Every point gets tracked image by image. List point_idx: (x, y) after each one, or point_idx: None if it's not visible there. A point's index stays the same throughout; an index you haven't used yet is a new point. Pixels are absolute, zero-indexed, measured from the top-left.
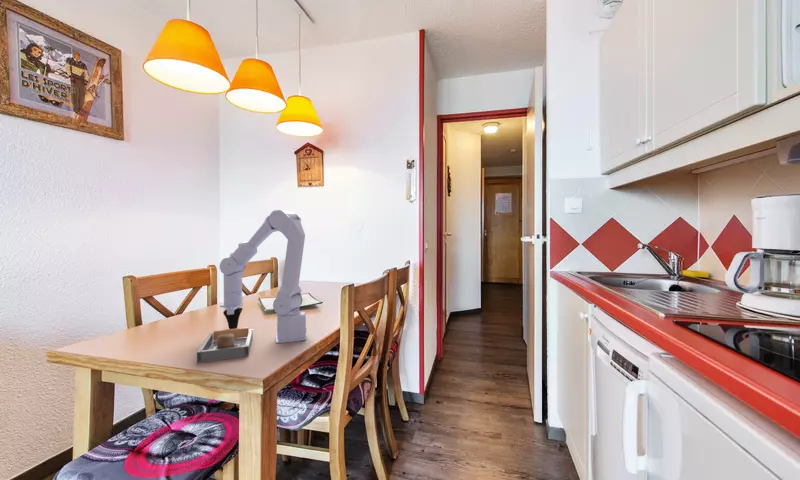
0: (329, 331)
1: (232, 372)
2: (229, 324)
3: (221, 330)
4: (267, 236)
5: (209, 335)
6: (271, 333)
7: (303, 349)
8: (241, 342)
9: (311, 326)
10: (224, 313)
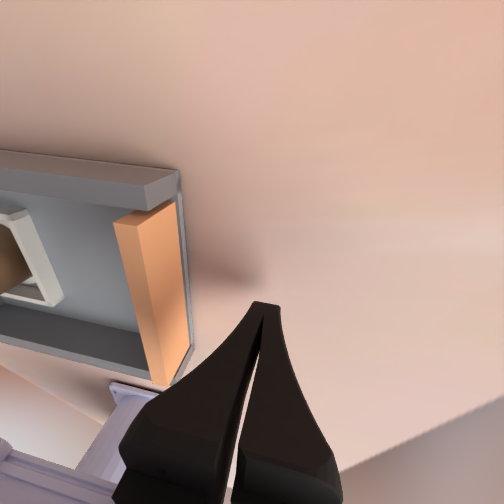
0: None
1: None
2: (238, 334)
3: (129, 274)
4: None
5: (91, 190)
6: None
7: (69, 403)
8: (119, 310)
9: None
10: (131, 423)
